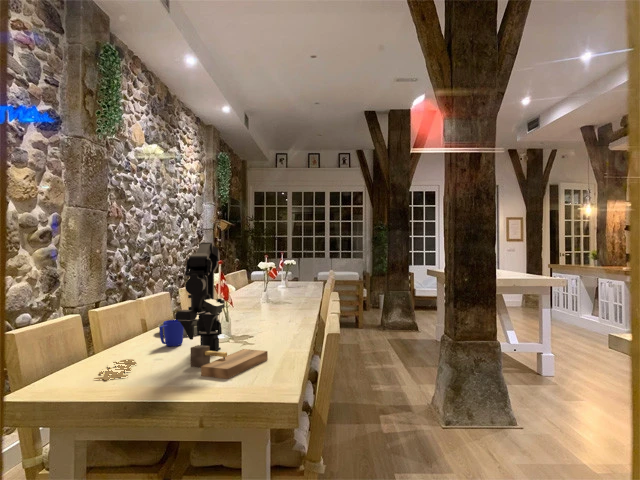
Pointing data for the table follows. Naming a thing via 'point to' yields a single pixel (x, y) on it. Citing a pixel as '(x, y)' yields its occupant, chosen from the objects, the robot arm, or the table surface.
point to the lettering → (114, 374)
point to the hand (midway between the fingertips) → (200, 336)
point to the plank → (234, 363)
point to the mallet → (203, 355)
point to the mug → (172, 333)
